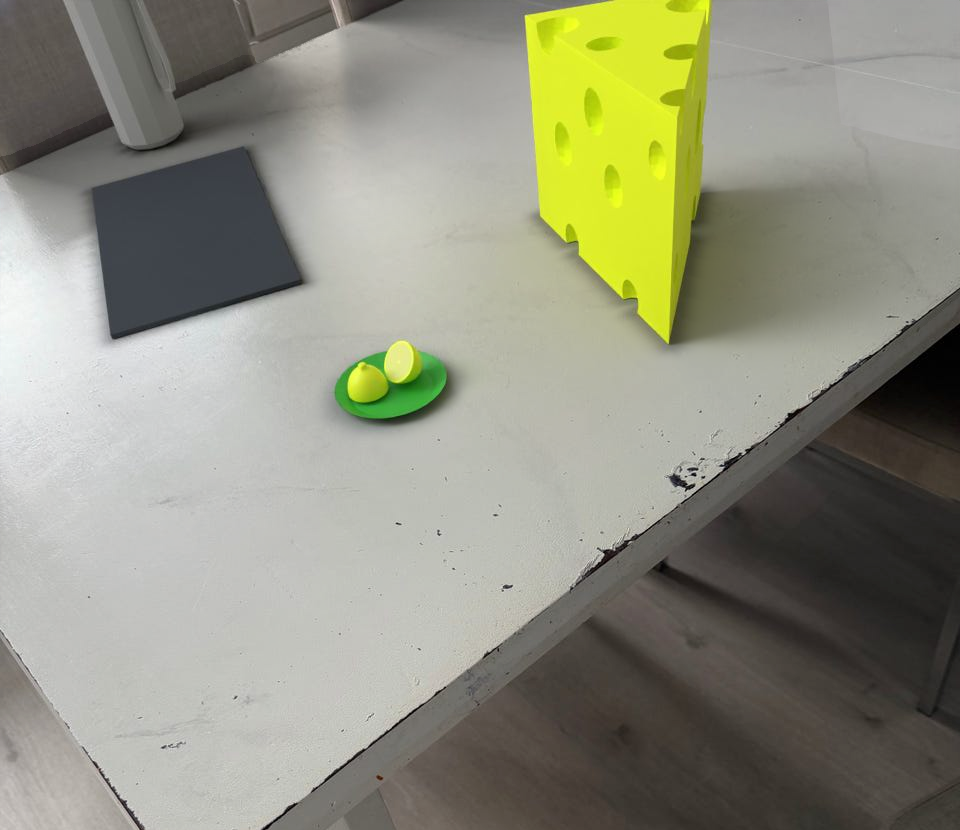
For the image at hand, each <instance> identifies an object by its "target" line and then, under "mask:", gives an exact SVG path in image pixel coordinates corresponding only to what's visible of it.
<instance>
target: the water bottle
mask: <svg viewBox="0 0 960 830" xmlns="http://www.w3.org/2000/svg"><path fill="white" fill-rule="evenodd" d="M62 2H63V4H64V6H65V9H66V11H67V13H68V16H69V19H70V21H71V23H72V25H73V28H74V31H75V33H76V35H77V38H78V40H79V42H80V43H79V44H80V45H81V48H82V50H83V52H84V55H85V58H86V60H87V63H88V64H89V67H90V69H91V72H92V74H93V77H94V79H95V81H96V84H97V86H98V89H99V91H100V95H101V96H102V99H103V101H104V103H105V106H106V108H107V111H108V113H109V116H110V118H111V120H112V121H111V122H112V124H113V125H114V129H115V130H116V133H117V135H118V138H119V140H120V143H121V144H123V145H124V146H126V147H128V148H130V149H133V150H137V151H142V150H144V151H145V150H152V149H156V148H159V147H164V146H166V145H168V144H170V143H171V142H173V141H175V140H176V139H177V138H178V137H179V135H180V134H181V133H182V132H183V131H184V126H185V124H184V122H183V119H182V116H181V113H180V111H179V108H178V104H177V102H176V100H175V97H174V93H173V92H174V91H176V90H177V87H176V81H175V77H174V73H173V70H172V67H171V63H170V59H169V58H168V56H167V53H166V51H165V48H164V46H163V44H162V41H161V39H160V37H159V35H158V32H157V30H156V28H155V25H154V23H153V21H152V18H151V16H150V14H149V12H148V9H147V6H146V4H145V2H144V0H62Z"/></svg>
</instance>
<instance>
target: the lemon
mask: <svg viewBox="0 0 960 830" xmlns="http://www.w3.org/2000/svg"><path fill="white" fill-rule="evenodd" d="M447 377H448V375H447V370H446V367H445V365H444V364H443V362H442V361H441V360H440V359H438V358H437V357H436V356H435V355H432V354H430V353H428V352H425V351H422V350H418V349H417V348H416V346H414V345H413V344H411V343H410V342H408V341H405V340H398V341H395V342H393V344H392V345H390V347H389V349H388V350H385V351H381V352H378V353H374V354H371V355H369V356H366V357H364V358H362V359H359V360H358V361H356V362H355V363H353V364H351V365H350V366H349V367H348V368H347V369H346V370H345V371H343V372H342V374H341V375H340V376H339V378H338V379H337V381H336V383H335V385H334V399H335V401H336V402H337V404H338V406H340V408H341V409H343V410H344V411H346V412H347V413H349V414H351V415H354V416H357V417H361V418H366V419H388V418H394V417H395V418H396V417H399V416H403V415H407V414H409V413H412V412H415V411H418V410H419V409H422V408H423V407H424V406H427V405H428V404H429V403H431V402H432V401H434V399H435V398H436V397H438V395H439V394H440V393H441V392H442V391H443V389H444V388H445V385H446V382H447Z"/></svg>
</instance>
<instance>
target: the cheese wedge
mask: <svg viewBox="0 0 960 830" xmlns="http://www.w3.org/2000/svg"><path fill="white" fill-rule="evenodd" d="M712 10H713V0H608V1H604V2H595V3H591V4H584V5H579V6H572V7H567V8H559V9H555V10H549V11H543V12H537V13H531V14H525V15H524V23H525V36H526V49H527V63H528V74H529V85H530V86H529V87H530V100H531V101H530V102H531V112H532V113H531V115H532V127H533V137H534V138H533V140H534V141H533V142H534V153H535V164H536V165H535V166H536V178H537V180H536V181H537V190H538V204H539V205H538V206H539V216H540V218H541V219H542V220H543V221H544V222H545V223H546V224H547V225H549V227H550V228H551V229H552V230H553V231H554V232H555V233H556V234H557V235H558V236H559V237H560V238H561V239H562V240H563V241H564V242H565V243H566V244H568V243H573V242H578V256H579V257H580V258H581V259H582V260H583V261H584V262H585V263H586V264H587V265H589V267H590V268H591V269H592V270H593V271H594V272H595V273H596V274H597V275H598V276H599V277H600V278H601V279H602V280H603V281H604V282H605V283H606V284H607V285H608V286H609V287H610V288H611V289H612V290H613V291H615V293H616V294H617V295H618V296H619V297H620V298H622V300H627V299H637V307H638V308H637V311H636V314H637V315H639V317H641V319H642V320H643V321H644V322H646V324H648V326H649V327H651V329H652V330H654V332H655V333H656V334H657V335H658V336H659V337H660V338H661V339H662V340H663V341H665V343H667V344H668V345H669V344H670V340H671V335H672V331H673V325H674V321H675V320H674V319H675V316H676V311H677V306H678V302H679V297H680V292H681V287H682V282H683V277H684V273H685V268H686V264H687V258H688V253H689V250H690V245H691V231H692V221H695V220H696V215H697V211H698V208H699V207H698V206H699V201H700V196H701V192H702V177H703V176H702V175H703V160H704V143H703V134H704V133H703V132H704V123H705V122H704V121H705V113H706V107H707V95H708V94H707V93H708V75H709V62H710V61H709V59H710V45H711V29H712V28H711V27H712Z"/></svg>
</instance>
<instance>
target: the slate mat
mask: <svg viewBox="0 0 960 830" xmlns="http://www.w3.org/2000/svg"><path fill="white" fill-rule="evenodd" d="M91 194H92V202H93V210H94V220H95V226H96V235H97V243H98V251H99V257H100V264H101V273H102V281H103V288H104V296H105V303H106V312H107V320H108V328H109V336H110V338H111V339H112V340H115V339H117V338H121V337H124V336H127V335H131V334H134V333H138V332H141V331H144V330H147V329H151V328H155V327H158V326H162V325H166V324H168V323H171V322H175V321H178V320H182V319H185V318H189V317H192V316H195V315H198V314H203V313H206V312H210V311H213V310H216V309H219V308H220V309H221V308H223V307H226V306H229V305H233V304H237V303H240V302H243V301H247V300H251V299H253V298H257V297H261V296H264V295H267V294H271V293H274V292H277V291H281V290H284V289H288V288H290V287H295V286H298V285H301V284H302V283H303V282H302V279H301V276H300V274H299V272H298V270H297V266H296V264H295V262H294V260H293V257H292V255H291V252H290V250H289V248H288V246H287V243H286V240H285V239H284V236H283V234H282V232H281V230H280V228H279V225H278V223H277V220H276V217H275V215H274V213H273V211H272V209H271V206H270V203H269V201H268V198H267V197H266V194H265V192H264V189H263V187H262V185H261V183H260V180H259V178H258V175H257V173H256V170H255V168H254V165H253V163H252V161H251V159H250V157H249V155H248V152H247V150H246V147H245V146H244V145H243V146H239V147H236V148H232V149H228V150H225V151H221V152H217V153H213V154H211V155H206V156H203V157H199V158H196V159H192V160H188V161H185V162H181V163H178V164H173V165H169V166H166V167H163V168H159V169H155V170H152V171H148V172H144V173H141V174H138V175H133V176H129V177H127V178H123V179H119V180H116V181H112V182H107V183H105V184H101V185H98V186H94V187H91Z"/></svg>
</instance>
